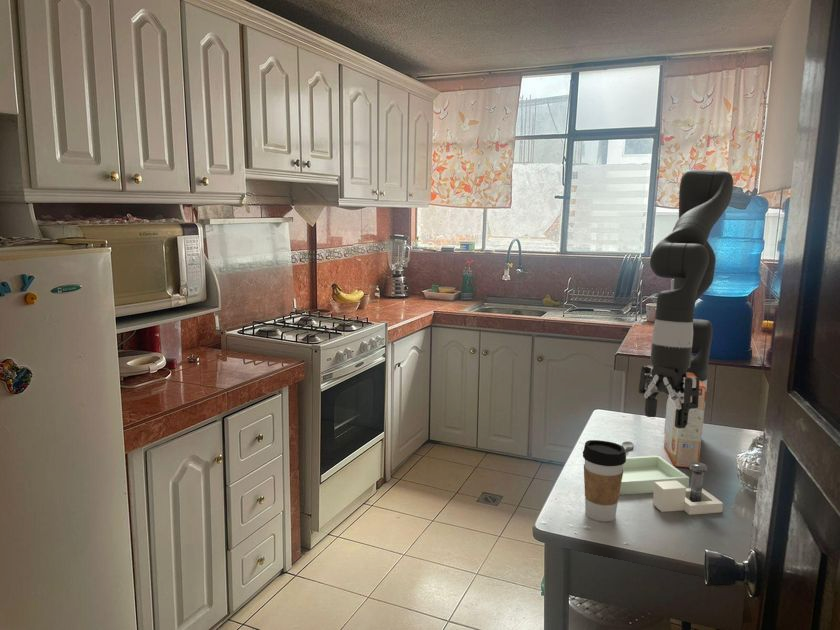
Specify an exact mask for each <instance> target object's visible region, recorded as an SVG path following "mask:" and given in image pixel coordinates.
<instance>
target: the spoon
mask: <svg viewBox="0 0 840 630" xmlns="http://www.w3.org/2000/svg"><path fill="white" fill-rule="evenodd" d="M621 446H622V447H624V449H625V452H626V451H630V450H633V449H634V446H635V445H634V443H633V442H632V441H624V442H622V443H621Z"/></svg>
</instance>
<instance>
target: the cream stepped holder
mask: <svg viewBox="0 0 840 630" xmlns="http://www.w3.org/2000/svg"><path fill="white" fill-rule="evenodd" d="M690 490H691V487H688V488H686V487H684V486H683V485H682V484H680V483H679V482H678V481H661V482H654V493H653V494H652V505H653V506H654V507H655V508H656V509H658V510H659V511H660V512H676V511H677V512H678V511H684V512H685V513H686V514H688V515H689V516H691V515H702V514H703V515H704V514H718V513H719V514H720V513H723V508H724V503H723V502H722V501H721V500H720V499H718V498H716V496H714V495H712V494H711V493H710V492H708V491H707V490H705V489H704V488H703V487H702V496H701V502H691V501H690Z"/></svg>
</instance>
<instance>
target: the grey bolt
mask: <svg viewBox="0 0 840 630" xmlns="http://www.w3.org/2000/svg"><path fill="white" fill-rule="evenodd" d="M689 469H690V470H691V471H692V472H691V482H690V488H691V490H690V501H691V502H702V501H701V496H702V488H703V483H704V475H705V473H707V469H708V466H707V464H705V463H703V462H700V461H699V462H692V463H690V468H689Z"/></svg>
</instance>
